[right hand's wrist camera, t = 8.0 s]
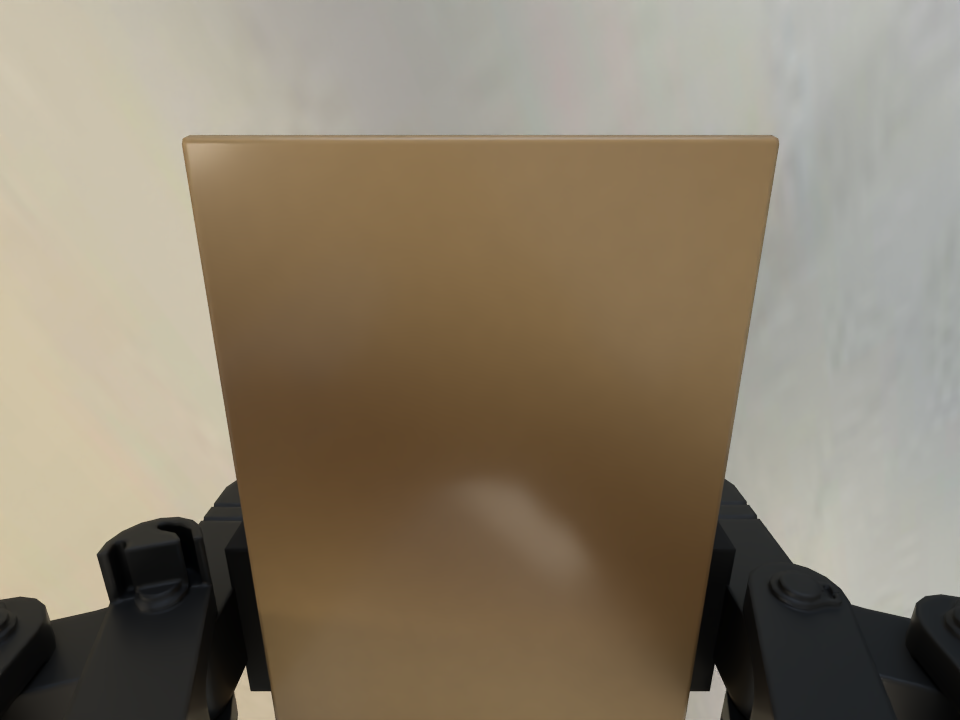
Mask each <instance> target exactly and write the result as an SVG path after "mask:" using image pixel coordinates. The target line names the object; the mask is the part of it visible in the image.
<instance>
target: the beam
mask: <svg viewBox="0 0 960 720" xmlns="http://www.w3.org/2000/svg"><path fill="white" fill-rule="evenodd" d="M182 147H183V153H184V159H185V166H186V172H187V178H188V184H189V190H190V196H191V202H192V208H193V215H194V221H195V227H196V233H197V239H198V245H199V251H200V258H201V264H202V270H203V276H204V282H205V288H206V294H207V300H208V307H209V313H210V319H211V325H212V331H213V337H214V343H215V350H216V356H217V362H218V368H219V374H220V380H221V386H222V393H223V399H224V405H225V411H226V417H227V423H228V429H229V435H230V442H231V448H232V454H233V460H234V466H235V472H236V478H237V485H238V491H239V497H240V503H241V509H242V515H243V521H244V527H245V534H246V540H247V546H248V552H249V558H250V564H251V570H252V577H253V583H254V589H255V595H256V601H257V607H258V613H259V619H260V626H261V632H262V638H263V644H264V650H265V656H266V662H267V669H268V675H269V681H270V687H271V693H272V699H273V705H274V712H275V718H276V720H685V717H686V711H687V705H688V699H689V693H690V687H691V680H692V674H693V668H694V662H695V656H696V650H697V644H698V638H699V631H700V625H701V619H702V613H703V607H704V601H705V595H706V589H707V582H708V576H709V570H710V564H711V558H712V552H713V546H714V540H715V533H716V527H717V521H718V515H719V509H720V503H721V497H722V491H723V485H724V478H725V472H726V466H727V460H728V454H729V448H730V442H731V436H732V429H733V423H734V417H735V411H736V405H737V399H738V393H739V387H740V380H741V374H742V368H743V362H744V356H745V350H746V344H747V338H748V331H749V325H750V319H751V313H752V307H753V301H754V295H755V289H756V282H757V276H758V270H759V264H760V258H761V252H762V246H763V240H764V234H765V227H766V221H767V215H768V209H769V203H770V197H771V191H772V185H773V178H774V172H775V166H776V160H777V154H778V148H779V140H778V138H776V137H774V136H772V135H189V136H187V137H185V138H183V141H182Z"/></svg>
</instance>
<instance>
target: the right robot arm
mask: <svg viewBox="0 0 960 720" xmlns="http://www.w3.org/2000/svg"><path fill="white" fill-rule="evenodd" d="M97 557H98V561H99V564H100V568H101V572H102V575H103V579H104V582H105V586H106V589H107V593H108V597H109V600H110V605H109V607H107V608H104V609H100V610H97V611H93V612H88V613H84V614H79V615H75V616H70V617H66V618H61V619H57V620H52V621H50V619H49V616H48V613H47V610H46V607H45V605H44V604H42V603H41V602H40V601H39V600H37V599H35V598H26V597H15V598H9V599H3V600H0V720H237V718H238V711H237V704H236V699H235V694H234V690H235V688H236V686H237V684H238V681H239V679H240V677H241V675H242V673H243V670H244V668H245V666H246V668H247V674H248V679H249V685H250V690H251V691H271V687H270V681H269V675H268V669H267V662H266V656H265V650H264V644H263V638H262V632H261V626H260V619H259V613H258V607H257V601H256V595H255V589H254V583H253V577H252V570H251V564H250V558H249V552H248V546H247V540H246V534H245V527H244V521H243V515H242V509H241V503H240V497H239V491H238V485H237V480H236V481H235V482H233V483H232V484H230V485H229V486H227V487H226V488H225V490H224V491H223V492H222V494H221V495H220V496H219V498H218V499H217V500H216V502H215V503H214V507H211V508H210V510H209V511H208V512H207V514H206V515H205V517H204V521H201V522H200V523H199V525H198V524H197V523H196V522H195V521H193V520H190V519H185V518H181V517H170V518H159V519H155V520H151V521H147V522H143V523H140V524H138V525H135V526H133V527H131V528H129V529H126V530H124V531H122V532H121V533H119V534H118V535H116V536H115V537H113V538H112V539H111V540H109V541H108V542H106V544H105V545H104V546H103V547H102V549H101V550H100V551H99V552H98V554H97ZM714 665H716V667H717V669H718V671H719V673H720V676H721V678H722V680H723V682H724V684H725V687H726V693H725V699H724V704H723V709H722V714H721V719H720V720H960V597H955V596H948V595H942V594H940V595H932V596H925V597H924V598H922V599H921V600H920V601H918V602H917V603H916V605H915V608H914V611H913V614H912V617H911V619H910V618H905V617H901V616H896V615H892V614H888V613H883V612H879V611H874V610H870V609H865V608H862V607H858V606H855V605H851V603H850V601H849V600H848V599H847V597H846V596H845V594H844V593H843V591H842V590H841V589H840V588H839V587H838V586H837V585H835V584H834V583H833V582H832V581H830V580H829V579H828V578H827V577H825V576H823V575H821V574H819V573H817V572H815V571H813V570H811V569H809V568H806V567H803V566H799V565H796V564H793V563H792V562H791V560H790V559H789V558H788V556H787V555H786V554H785V552H784V551H783V550H782V548H781V547H780V546H779V544H778V543H777V542H776V540H775V539H774V538H773V536H772V535H771V534H770V532H769V531H768V530H767V528H766V527H765V526H764V524H763V523H762V522H761V520H760V519H757V515H756V514H755V512H754V511H753V510H752V508H751V507H750V506H749V505H747V502H746V500H745V499H744V498H743V496H742V495H741V494H740V492H739V491H738V490H737V488H736V487H735V486H734V485H733V484H731V483H730V482H728V481H727V480H726V479H724V485H723V491H722V497H721V503H720V509H719V515H718V521H717V527H716V533H715V540H714V546H713V552H712V558H711V564H710V570H709V576H708V582H707V589H706V595H705V601H704V607H703V613H702V619H701V625H700V631H699V638H698V644H697V650H696V656H695V662H694V668H693V674H692V680H691V687H690V691H710V687H711V681H712V676H713V670H714Z"/></svg>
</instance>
